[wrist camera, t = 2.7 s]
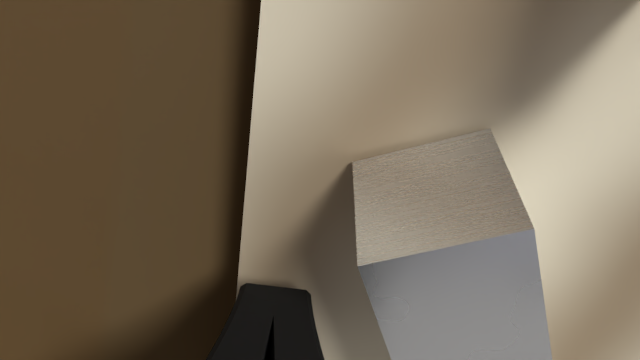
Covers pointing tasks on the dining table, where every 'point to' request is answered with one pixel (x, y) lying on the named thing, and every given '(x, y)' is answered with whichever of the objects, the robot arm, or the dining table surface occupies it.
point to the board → (442, 123)
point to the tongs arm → (449, 253)
